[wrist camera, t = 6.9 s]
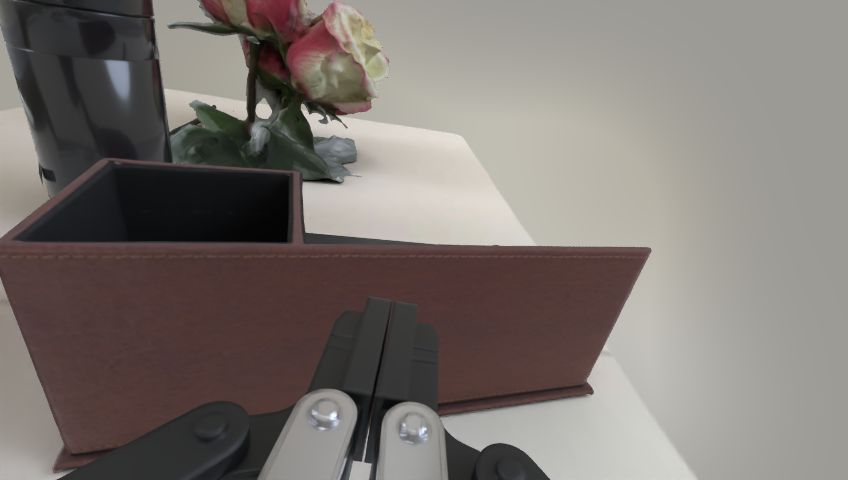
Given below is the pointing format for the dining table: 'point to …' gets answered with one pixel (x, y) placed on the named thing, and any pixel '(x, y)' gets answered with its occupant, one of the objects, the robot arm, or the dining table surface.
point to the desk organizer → (272, 302)
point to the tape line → (350, 240)
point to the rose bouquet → (287, 86)
